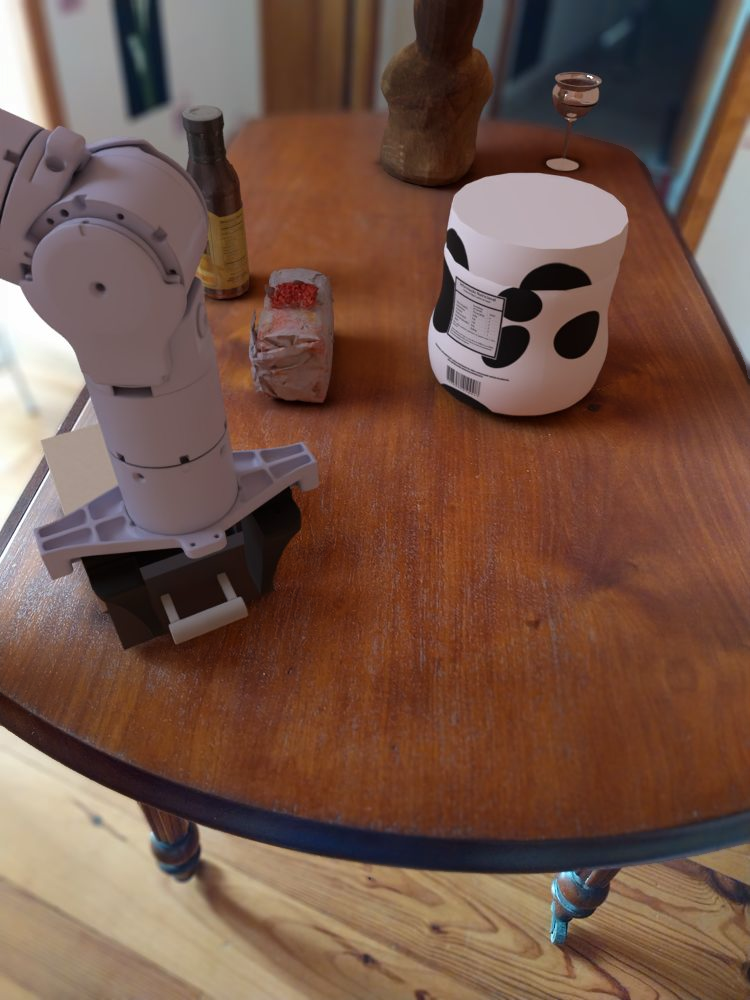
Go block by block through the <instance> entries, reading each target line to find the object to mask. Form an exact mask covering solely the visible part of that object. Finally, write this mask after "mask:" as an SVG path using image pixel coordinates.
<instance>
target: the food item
mask: <svg viewBox="0 0 750 1000" xmlns="http://www.w3.org/2000/svg"><path fill="white" fill-rule="evenodd" d="M330 280H331V277H330V276H328V275H326V274H324V273H322V272H321V271H317V270H313V269H308V268H303V267H294V268H282V269H276V270H273V271H272V272H271V273H270V277H269V279H268V284H267V283H266V284H264V292H265V293H266V295H265V296H264V300H263V301H264V303H263V309H262V310H261V311H260V315H259V321H258V324H257V325H256V320H257V317H256V315H257V314H256V309H254V310H253V312H252V313H253V314H252V317H251V322H250V332H249V347H248V356H249V357H248V358H249V360H250V363H251V367H250V372H251V379H252V380H253V385H254V391H255V392H256V394H257V395H258V396H259V397H260V398H262V396H264V397H265V398H274V399H278V400H279V399H280V400H284V401H296V402H308V403H313V404H314V403H317V404H318V403H319V404H323V403H324V401H325V399H326V397H327V394H328V390H329V386H330V380H331V375H332V374H331V373H332V369H333V355H334V343H335V338H334V334H335V329H334V328H335V316H334V306H333V303H334V302H335V300H334V297H333V289H332V285H331V282H330ZM256 326H257V327H256Z"/></svg>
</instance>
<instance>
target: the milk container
mask: <svg viewBox="0 0 750 1000" xmlns="http://www.w3.org/2000/svg"><path fill="white" fill-rule="evenodd" d="M627 212H628V211H627V208H626V206H625V205H623V203H622V202H620V201H619V199H618V198H616V196H614V195H613V194H612V193H610V192H608V191H606V190H604V189H602V188H600V187H598V186H596V185H594V184H592V183H588V182H585V181H582V180H579V179H576V178H572V177H568V176H562V175H555V174H549V173H541V172H508V173H503V174H495V175H489V176H485V177H482V178H479V179H476V180H474V181H472V182H469V183H467V184H465V185H464V186H463V187H461V188H460V190H458V191H457V192H456V193H455V194H454V195H453V199H452V202H451V207H450V212H449V216H448V222H447V229H446V238H445V244H444V246H443V247H444V249H443V263H442V281H441V288H440V292H439V295H438V297H437V300H436V303H435V306H434V309H433V311H432V314H431V317H430V319H429V320H430V321H429V326H428V333H427V345H428V346H427V347H428V356H429V362H430V366H431V369H432V372H433V374H434V376H435V379H436V380H437V381H438V383H439V384H440V386H441V387H442V388H443V389H444V390H445V391H446V392H447V393H448V394H450V395H451V396H452V397H453V398H455V399H456V400H457V401H459V402H461V403H463V404H465V405H467V406H469V407H472V408H473V409H475V410H479V411H481V412H483V413H487V414H492V415H493V414H494V415H497V416H503V417H507V418H538V417H543V416H549V415H553V414H556V413H559V412H562V411H565V410H567V409H570V408H571V407H572V406H574V405H575V404H577V403H579V402H580V401H581V400H582V399H583V398H585V397H586V396H587V394H589V392H591V390H592V388H593V387H594V386H595V384H596V381H597V380H598V377H599V376H600V374H601V371H602V369H603V367H604V364H605V361H606V357H607V353H608V346H609V324H608V319H609V318H608V315H609V313H608V312H609V307H610V303H611V299H612V295H613V291H614V288H615V285H616V282H617V278H618V276H619V272H620V266H621V264H620V263H621V261H622V259H623V256H624V253H625V250H626V247H627V240H628V233H629V217H628V213H627Z"/></svg>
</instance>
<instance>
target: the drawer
mask: <svg viewBox="0 0 750 1000" xmlns="http://www.w3.org/2000/svg"><path fill="white" fill-rule="evenodd" d="M225 535H226V540H227V544H226V546H225V547H224V548H223V549H221V550H219V551H216V552H214V553H211V554H208V555H205V556H203V557H200V558H195V559H192V558H189V557H188V556H187V555H186V554H185V552H184V550H183V549H182V548H179V547H178V548H168V549H157V550H146V551H135V552H133V553H134V555H135V558H136V561H137V563H138V566H139V568H140V571H141V574H142V576H143V579H144V581H145V584H146V587H147V590H148V592H149V594H150V596H151V599H152V601H153V604H154V606H155V609H156V611H157V614H158V616H159V619H160V621H161V624H162V627H163V630H164V633H163V634H161V635H158V636H156V637H153V636H152V635H151V633H150V632H149V630H148V629H147V628H146V627H145V625H144V624H143V623H142V622H140V621H139V620H138V619H137V618H136V617H135V616H134V615H132V614H131V613H129V612H128V611H126V610H125V609H123V608H121V607H119V606H116V605H114V604H111V603H105V604H106V607H107V609H108V611H107V612H108V614H109V617H110V619H111V622H112V624H113V627H114V630H115V631H116V634H117V637H118V639H119V642H120V644H121V646H122V649H123V650H124V651H126V650H130V649H132V648H134V647H137V646H139V645H142V644H144V643H146V642H149V641H152V640H154V639H157V638H160V637H162V636H164V635H167V634H169V633H170V634H171V637H172V640H173V641H174V644H175V645H179V644H181V643H184V642H187V641H189V640H192V639H194V638H197V637H199V636H202V635H205V634H206V633H210V632H212V631H215V630H217V629H220V628H223V627H224V626H227V625H229V624H232V623H234V622H237V621H239V620H241V619H244V618H247V617H248V616H249V611H248V609H247V606H246V604H247V603H248V602H251V601H253V600H256V599H259V598H261V597H264V596H266V595H269V594H271V593H274V592H275V590H276V589H275V583H274V580H273V583H272V588H271V591H270V592H268V593H265V594H263V595H261V594H260V592H259V590H258V588H257V586H256V584H255V582H254V581H253V579H252V577H251V575H250V573H249V570H248V566H247V562H246V556H245V547H244V537H243V529H242V524H241V520H240V521H238V522H237V523H235V524H234V525H233V526H231V527H230V528H228V529H227V530H226V531H225Z"/></svg>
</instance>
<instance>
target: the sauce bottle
mask: <svg viewBox="0 0 750 1000" xmlns="http://www.w3.org/2000/svg"><path fill="white" fill-rule="evenodd" d="M181 118H182V127H183V129H184V131H185V134H186V142H187V149H188V156H187V157H188V158H187V163H186V167H185V168H186V169H185V170H186V171H187V172H188V174H189V175H190V176H191V177H192V178H193V180H194V181H195V183H196V184H197V186H198V187H199V189H200V191H201V193H202V195H203V197H204V200H205V203H206V206H207V210H208V216H209V231H208V236H207V243H206V247H205V250H204V253H203V256H202V258H201V261H200V263H199V266H198V268H197V271H196V274H195V277H198V278H200V279H201V281H202V285H203V291H204V296H206V297H210V299H213V300H229V299H234V298H238V297H240V296H242V295H244V294H245V293H246V292H247V291H248V290H249V287H250V276H251V275H250V274H251V273H250V263H249V254H248V244H247V232H246V223H245V222H246V221H245V213H244V211H245V210H244V203H243V200H242V193H241V192H242V191H241V182H240V178H239V175H238V173H237V171H236V170H235V168H234V165H233V163H231V162H230V161H229V159H228V158H227V148H226V146H225V137H224V128H225V120H224V119H225V118H224V114H223V111H222V110H221V109H220V108H219V107H216V106H214V105H204V104H201V105H194V106H190V107H188V108H185V110H184V111H182V113H181Z"/></svg>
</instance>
